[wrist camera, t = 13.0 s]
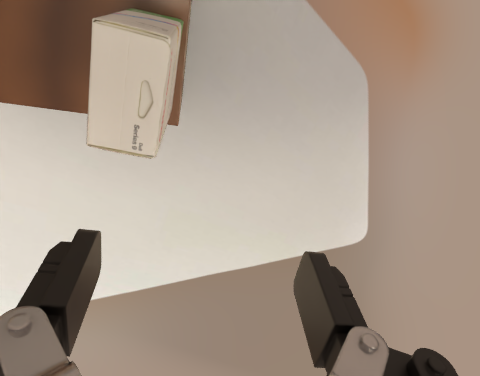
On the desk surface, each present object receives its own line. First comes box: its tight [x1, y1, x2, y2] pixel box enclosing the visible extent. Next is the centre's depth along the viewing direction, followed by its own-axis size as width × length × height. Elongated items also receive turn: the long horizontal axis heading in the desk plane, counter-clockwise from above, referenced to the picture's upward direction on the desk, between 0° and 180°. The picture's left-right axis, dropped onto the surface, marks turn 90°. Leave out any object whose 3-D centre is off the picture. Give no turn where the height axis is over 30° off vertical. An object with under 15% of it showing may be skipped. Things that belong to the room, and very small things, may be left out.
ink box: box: [86, 8, 184, 159], centre depth 28 cm, size 9×5×12 cm, turn 166°
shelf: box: [0, 0, 192, 126], centre depth 34 cm, size 22×12×15 cm, turn 80°
